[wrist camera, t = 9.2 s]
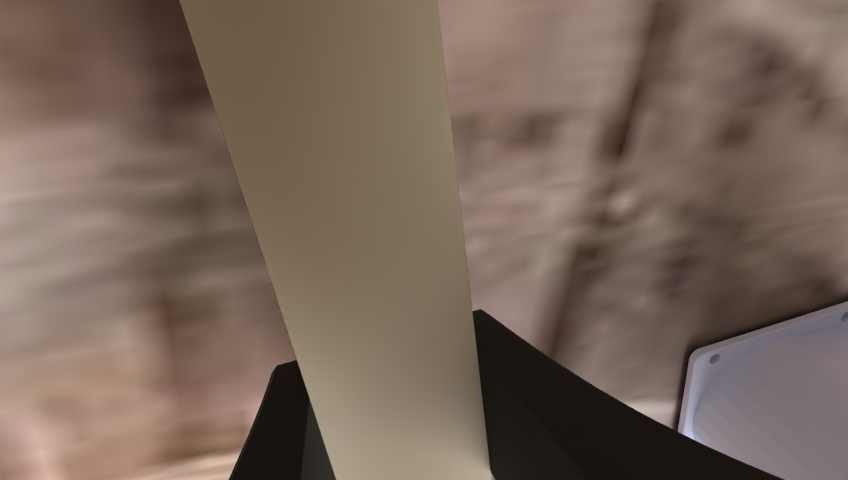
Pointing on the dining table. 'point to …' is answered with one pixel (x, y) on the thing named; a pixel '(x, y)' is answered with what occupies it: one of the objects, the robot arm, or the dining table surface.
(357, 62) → the beige tapered strip
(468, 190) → the dining table surface
